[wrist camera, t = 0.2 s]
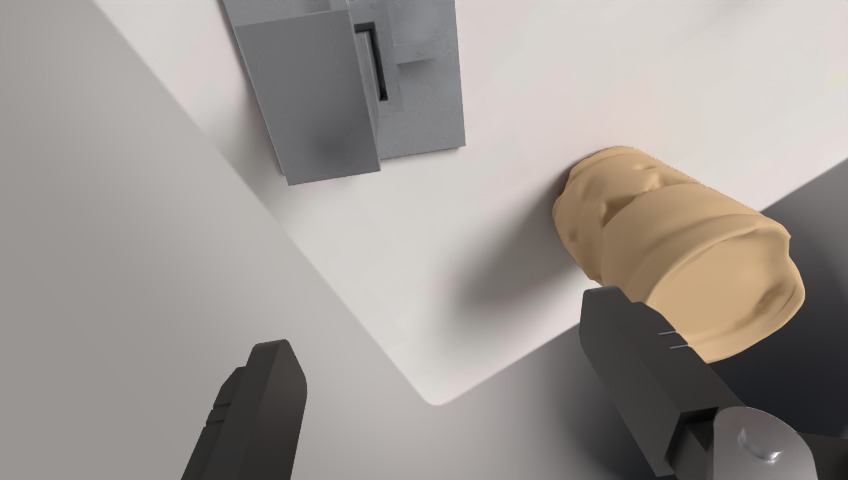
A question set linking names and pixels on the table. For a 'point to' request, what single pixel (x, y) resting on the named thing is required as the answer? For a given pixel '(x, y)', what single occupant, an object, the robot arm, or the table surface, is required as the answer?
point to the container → (679, 250)
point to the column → (317, 93)
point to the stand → (392, 65)
